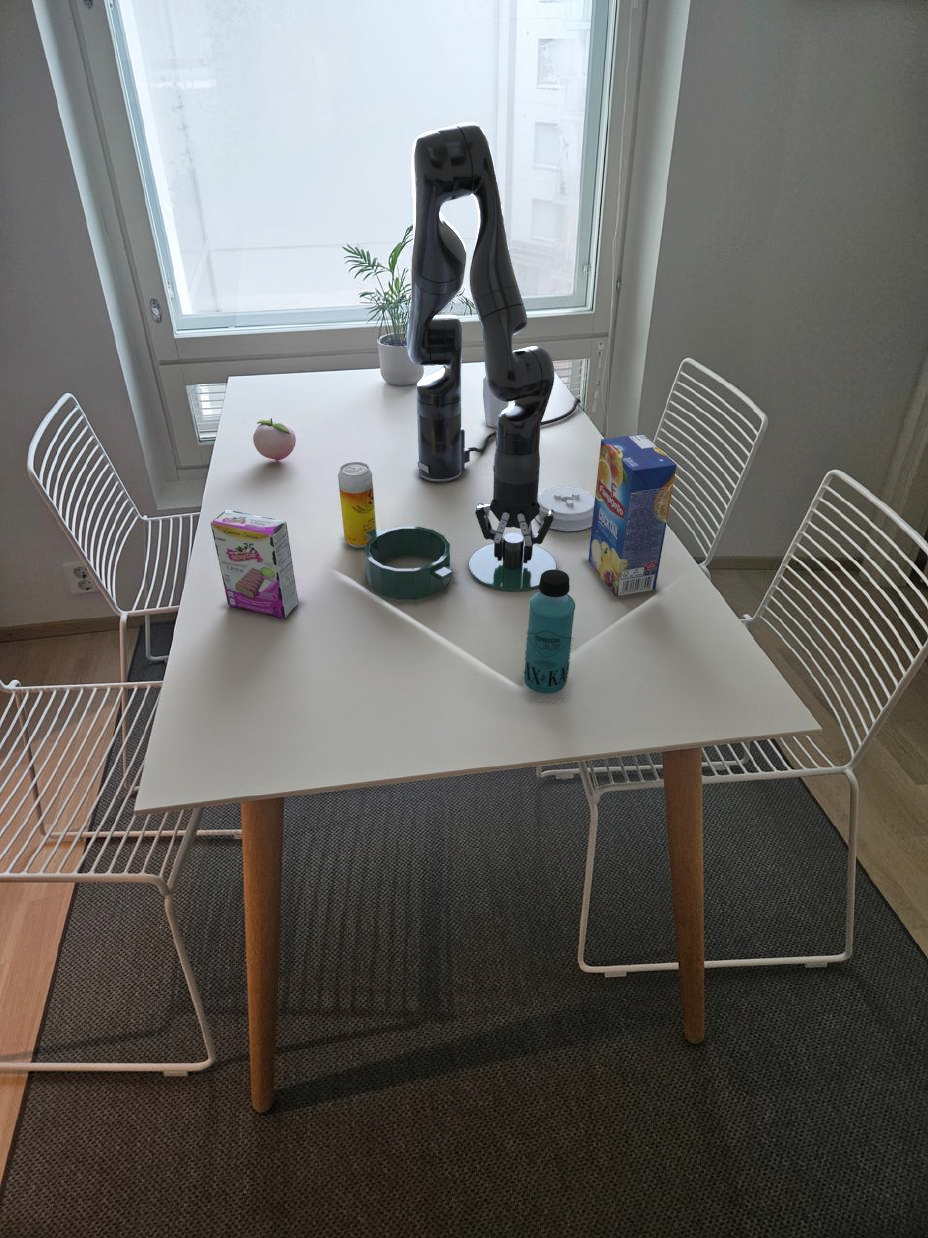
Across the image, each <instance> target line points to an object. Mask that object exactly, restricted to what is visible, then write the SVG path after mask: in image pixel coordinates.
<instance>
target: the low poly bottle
mask: <svg viewBox="0 0 928 1238" xmlns="http://www.w3.org/2000/svg"><path fill="white" fill-rule="evenodd" d="M482 402H483V410H484V419H485V420H484V421H485V425H486V426H488V427H489V428H495V429H497V418H498V416H499V414H500V413H501V412H502V411H503V410H505V409H506V408H508V407H509V403H510V402H504V401H501V400H499V399H498V398H496V397H495V396H494V395H493V393H492V392H491V390H490V389H489V386H488V384H487V380H486V375H485V376H484V378H483V380H482Z"/></svg>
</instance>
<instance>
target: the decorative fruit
mask: <svg viewBox="0 0 928 1238" xmlns="http://www.w3.org/2000/svg"><path fill="white" fill-rule="evenodd" d="M256 424H257V425H258V424H259V425H258V426H257V427H256V429H255V430H254V433H253V435H252V442H253V445H254V448H255V449H256V451H257V452H258V454H260V455H261V456H263V457H265V458H267V459H269V460H275V461H277V462H278V461H282V460H284V459H286V458H287V457H289V456H290V455H291V454H292V453H293V451H294V449H295V447H296V443H297V438H296V434H295V432H294V430H293V429H292V428H291V427H290V426H289V425H287V424H285V423H283V422H274V421H273V418H272V417H271V418H270V419H261V420H258V421H257V422H256Z"/></svg>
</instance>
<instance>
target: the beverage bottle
mask: <svg viewBox="0 0 928 1238" xmlns="http://www.w3.org/2000/svg"><path fill="white" fill-rule="evenodd" d="M570 587H571V585H570V576H569V574H568V573H567V572H565V571H563V570H560V569H556V570H555V569H553V570H547V571H545V572H543V573H542V574H541V577H540V583H539V588H538V590H539V591H537V592H536V593H534V594H533V595H532V596H531V598H530V600H529V613H528V622H527V623H528V625H527V631H526V637H525V638H526V644H525V645H524V646H525V651H524V655H525V657H524V670H523V674H522V675H523V679H524V682H525V684H526V686H527V688H528V689H530V690H531V691H533V692H535V693H538V694H543V695H552V694H555V693H558V692H559V691H561V690H563V689H564V687H565V686H566V684H567V681H568V678H569V671H570V664H571V662H570V661H571V659H570V656H571V652H572V640H573V639H574V638H573V627H574V616H575V610H576V602H575V600H574V598H573V597H572V596H571V595H570V594H569V592H570Z"/></svg>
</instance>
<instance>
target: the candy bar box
mask: <svg viewBox="0 0 928 1238" xmlns="http://www.w3.org/2000/svg"><path fill="white" fill-rule="evenodd" d="M209 524H210V527H211V532H212V536H213V542H214V547H215V551H216V556H217V560H218V564H219V570H220V574H221V578H222V584H223V588H224V592H225V596H226V603H227V606H229V607H233V608H236V609H242V610H246V611H250V612H251V611H252V612H254V613H260V614H263V615H268V616H272V617H276V618H282V619H286V618H287V617H288V616H289V615H290V614H291V612H292V611H293V610H294V609H295V608H296V607H297V606H298V605H299V597H298V592H297V591H298V590H297V585H296V578H295V577H296V576H295V571H294V564H293V558H292V557H293V556H292V552H291V544H290V536H289V531H288V524H287V521H286V520H282V519H276V518H272V517H266V516H261V515H257V514H252V513H247V512H241V511H238V510H237V511H236V510H232V509H227V508H226V509H225V510H224V511H222V513H220V514H219V515H218V516H216V518H214V519H213V520H211V522H209Z"/></svg>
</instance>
